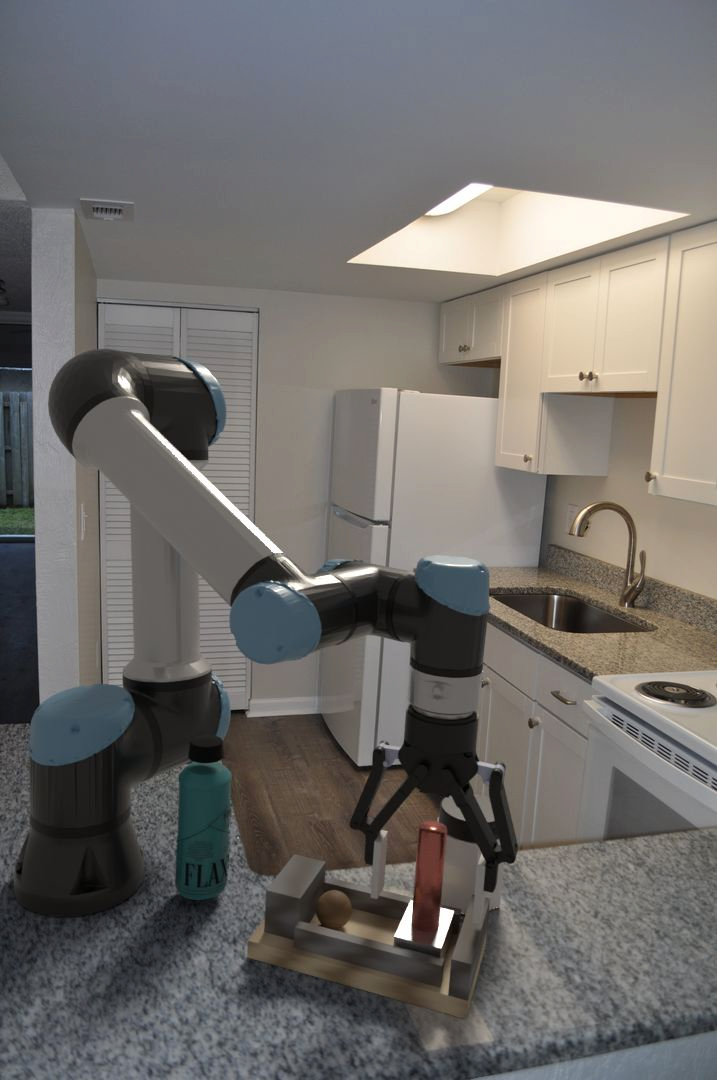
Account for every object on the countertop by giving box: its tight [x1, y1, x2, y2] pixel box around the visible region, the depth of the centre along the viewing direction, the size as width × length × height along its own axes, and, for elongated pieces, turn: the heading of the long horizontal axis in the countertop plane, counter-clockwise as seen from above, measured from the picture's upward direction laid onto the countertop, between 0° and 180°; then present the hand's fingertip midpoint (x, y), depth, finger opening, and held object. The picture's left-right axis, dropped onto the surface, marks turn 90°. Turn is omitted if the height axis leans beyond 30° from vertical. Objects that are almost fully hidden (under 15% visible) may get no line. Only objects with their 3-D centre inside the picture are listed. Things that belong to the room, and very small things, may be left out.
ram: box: [394, 820, 454, 959], centre depth 87 cm, size 5×7×14 cm
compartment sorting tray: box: [246, 853, 490, 1020], centre depth 90 cm, size 24×12×7 cm, turn 72°
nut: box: [316, 890, 352, 929], centre depth 91 cm, size 4×4×4 cm
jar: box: [436, 792, 505, 914], centre depth 101 cm, size 9×8×12 cm
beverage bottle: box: [173, 735, 233, 901], centre depth 97 cm, size 6×7×20 cm
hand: (426, 903), depth 87 cm, fingers open, 10 cm apart
